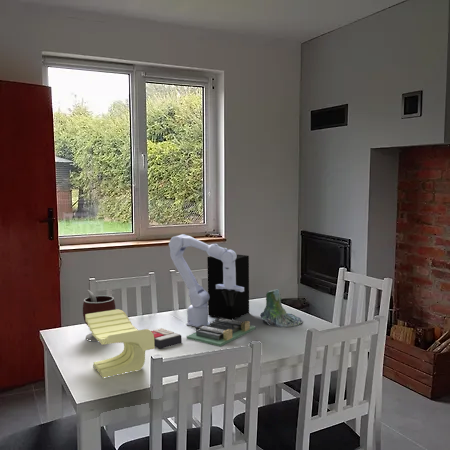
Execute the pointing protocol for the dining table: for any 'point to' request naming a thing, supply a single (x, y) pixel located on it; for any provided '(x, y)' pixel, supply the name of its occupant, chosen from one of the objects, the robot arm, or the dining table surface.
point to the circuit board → (221, 342)
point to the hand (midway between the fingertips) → (230, 305)
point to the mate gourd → (97, 307)
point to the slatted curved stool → (119, 341)
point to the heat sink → (225, 326)
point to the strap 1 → (212, 329)
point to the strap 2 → (230, 321)
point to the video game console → (217, 299)
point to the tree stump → (278, 312)
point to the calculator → (165, 338)
